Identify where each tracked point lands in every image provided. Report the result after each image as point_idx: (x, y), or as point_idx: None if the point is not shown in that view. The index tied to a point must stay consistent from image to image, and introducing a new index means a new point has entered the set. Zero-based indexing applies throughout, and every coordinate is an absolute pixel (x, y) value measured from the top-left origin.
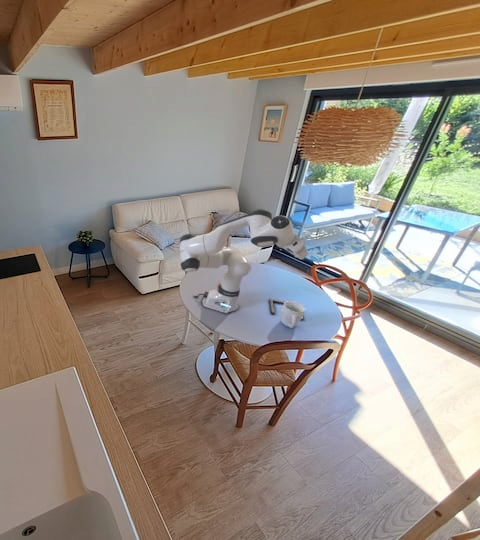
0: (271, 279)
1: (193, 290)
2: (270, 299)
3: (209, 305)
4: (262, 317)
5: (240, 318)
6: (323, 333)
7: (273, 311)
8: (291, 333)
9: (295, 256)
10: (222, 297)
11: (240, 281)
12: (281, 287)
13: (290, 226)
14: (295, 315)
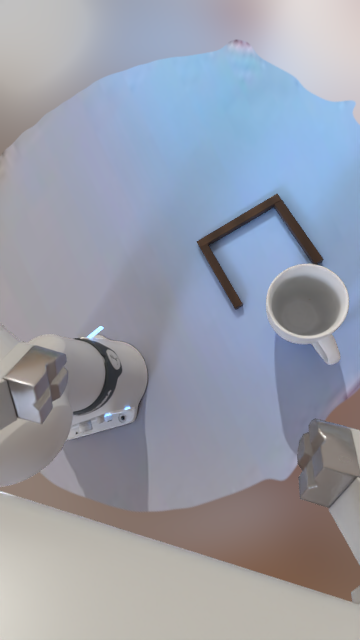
0: (149, 131)
1: None
2: (199, 243)
3: (77, 429)
4: (224, 350)
5: (178, 410)
6: None
7: (236, 299)
8: None
9: (335, 500)
10: (85, 416)
11: (81, 376)
12: (192, 147)
13: None
14: (329, 335)
